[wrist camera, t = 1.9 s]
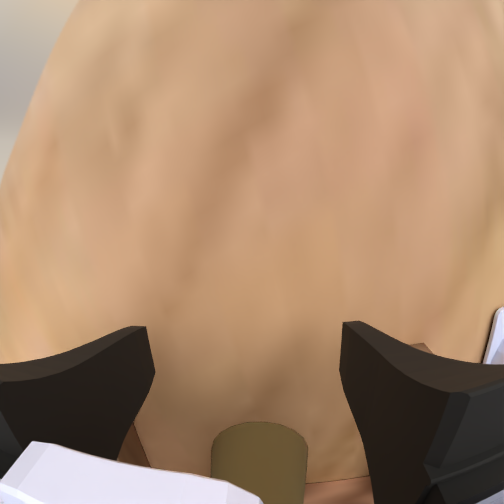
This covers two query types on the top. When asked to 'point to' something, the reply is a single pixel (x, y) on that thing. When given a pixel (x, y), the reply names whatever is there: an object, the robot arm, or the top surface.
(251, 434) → the olive brown pear shape
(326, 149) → the top surface
